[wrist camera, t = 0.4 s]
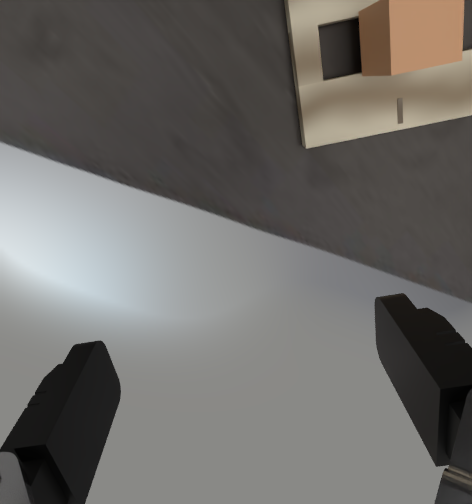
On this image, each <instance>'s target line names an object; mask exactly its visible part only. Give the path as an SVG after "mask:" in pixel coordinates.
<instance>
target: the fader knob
mask: <svg viewBox="0 0 472 504" xmlns="http://www.w3.org/2000/svg"><path fill="white" fill-rule="evenodd" d="M358 13H359V34H360V51H361V64H362V76H392V75H397V74H401V73H406V72H411V71H416V70H420V69H425V68H430V67H434V66H439V65H444V64H449V63H453V62H458V61H462V50H463V21H464V0H379V1H377V2H375V3H374V4H372V5H370V6H368V7H366V8H364V9H362V10H361V11H359V12H358Z"/></svg>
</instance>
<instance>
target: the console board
mask: <svg viewBox="0 0 472 504" xmlns="http://www.w3.org/2000/svg"><path fill="white" fill-rule="evenodd" d="M377 1H379V0H284V4H285V12H286V19H287V27H288V35H289V43H290V51H291V59H292V67H293V75H294V83H295V91H296V99H297V107H298V115H299V123H300V131H301V138H302V145H303V146H304V147H305V148H306V149H307V148H312V147H317V146H322V145H327V144H332V143H337V142H342V141H347V140H352V139H357V138H362V137H366V136H371V135H376V134H381V133H386V132H391V131H396V130H401V129H406V128H411V127H416V126H421V125H426V124H431V123H436V122H441V121H446V120H450V119H455V118H460V117H465V116H470V115H472V48H471V49H466V50H462V61H458V62H453V63H449V64H444V65H439V66H434V67H430V68H425V69H420V70H416V71H411V72H406V73H401V74H397V75H392V76H362V72H359V73H354V74H350V75H345V76H340V77H336V78H331V79H326V80H323V73H322V63H321V52H320V42H319V32H318V27H321V26H325V25H330V24H334V23H339V22H343V21H347V20H352V19H356V18H359V13H358V12H359V11H361V10H362V9H364V8H366V7H368V6H370V5H372V4H374V3H375V2H377Z"/></svg>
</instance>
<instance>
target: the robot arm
mask: <svg viewBox="0 0 472 504" xmlns="http://www.w3.org/2000/svg"><path fill="white" fill-rule="evenodd" d="M375 324H376V325H375V326H376V327H375V328H376V345H377V350H378V354H379V358H380V360H381V363H382V365H383V367H384V369H385V370H386V372H387V374H388V376H389V378H390V380H391V382H392V384H393V386H394V387H395V389H396V391H397V393H398V395H399V397H400V399H401V401H402V403H403V404H404V407H405V408H406V410H407V412H408V414H409V416H410V418H411V420H412V422H413V424H414V426H415V427H416V429H417V431H418V433H419V435H420V437H421V439H422V441H423V443H424V444H425V446H426V448H427V450H428V452H429V454H430V456H431V457H432V460H433V462H434V463H435V465H436V466H445V465H449V467H448V469H447V468H445V470H444V472H443V475H442V478H441V481H440V485H439V489H438V493H437V496H436V500H435V504H472V348H471V347H470V346H469V344H468V343H465V340H464V339H463V338H462V337H461V336H460V334H459V333H458V332H457V333H456V330H455V329H454V328H453V327H452V325H451V324H450V323H449V322H448V321H447V320H446V319H445V318H444V317H443V316H441V315H439V314H438V313H436V312H434V311H432V310H430V309H429V308H422V309H417V308H416V307H415V306H414V305H413V304H412V302H411V301H410V300H409V298H408V297H407V296H406V295H405V294H403V293H401V294H395V295H388V296H383V297H376V299H375ZM120 394H121V390H120V382H119V378H118V376H117V373H116V371H115V369H114V366H113V363H112V361H111V358H110V356H109V353H108V351H107V348H106V346H105V344H104V343H103V342H102V341H94V342H88V343H81V344H76V345H74V346H73V347H72V349H71V350H70V352H69V354H68V355H67V357H66V359H65V361H64V362H63V364H58V365H57V366H56V367H55V368H54V369H53V370H52V371H51V372H50V373H49V374H48V375H47V376H45V377H44V379H43V380H42V382H41V384H40V385H39V387H38V388H37V390H36V392H35V395H34V396H33V397H32V398H31V400H30V401H29V403H28V407H27V408H25V409H24V411H23V413H22V415H21V416H20V418H19V419H18V421H17V422H16V424H15V426H14V427H13V429H12V431H11V432H10V434H9V436H8V437H7V439H6V441H5V442H4V444H3V445H2V447H1V449H0V504H85V502H86V498H87V496H88V493H89V490H90V487H91V484H92V481H93V478H94V475H95V472H96V469H97V466H98V463H99V460H100V457H101V455H102V452H103V448H104V446H105V443H106V440H107V437H108V434H109V431H110V428H111V425H112V422H113V419H114V416H115V413H116V410H117V407H118V404H119V401H120Z"/></svg>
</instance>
